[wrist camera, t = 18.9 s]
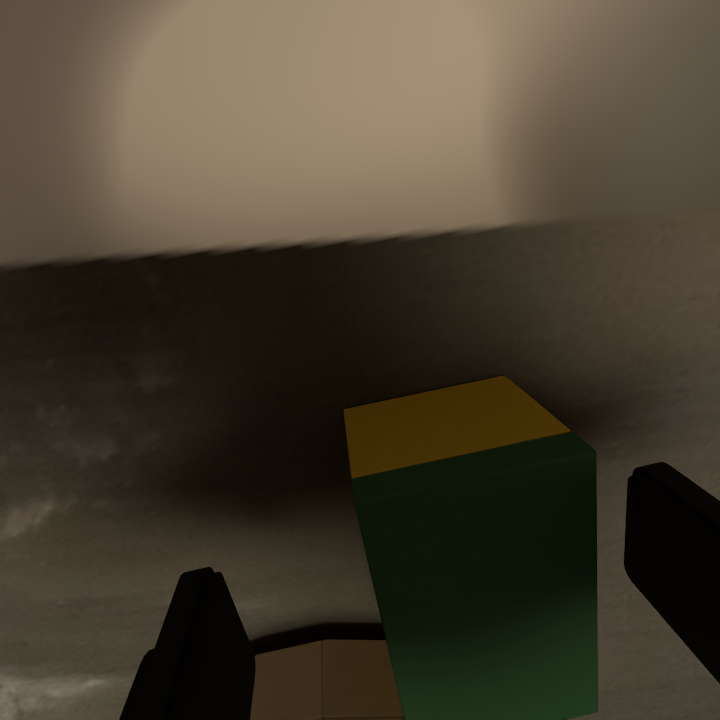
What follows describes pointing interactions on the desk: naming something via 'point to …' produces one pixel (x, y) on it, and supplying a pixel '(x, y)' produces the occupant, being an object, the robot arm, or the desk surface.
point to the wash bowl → (326, 682)
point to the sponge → (480, 551)
